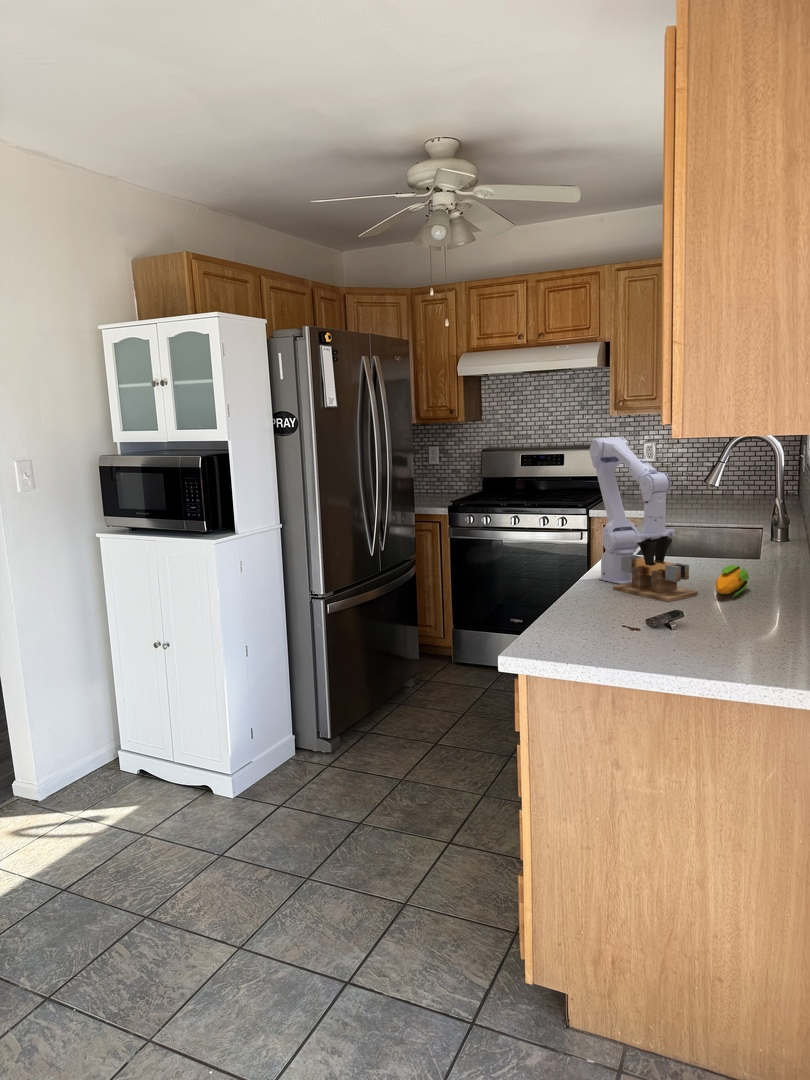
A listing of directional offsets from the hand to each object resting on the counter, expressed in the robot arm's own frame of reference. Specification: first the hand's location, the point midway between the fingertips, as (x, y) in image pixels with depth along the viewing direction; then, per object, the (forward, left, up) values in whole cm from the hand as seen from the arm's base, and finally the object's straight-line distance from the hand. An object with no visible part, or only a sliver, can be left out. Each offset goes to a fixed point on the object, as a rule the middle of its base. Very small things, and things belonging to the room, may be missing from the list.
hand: (654, 564), depth 215 cm
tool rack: (0, 0, -8) cm, 8 cm away
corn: (+15, +13, -8) cm, 22 cm away
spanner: (0, 0, -3) cm, 3 cm away
